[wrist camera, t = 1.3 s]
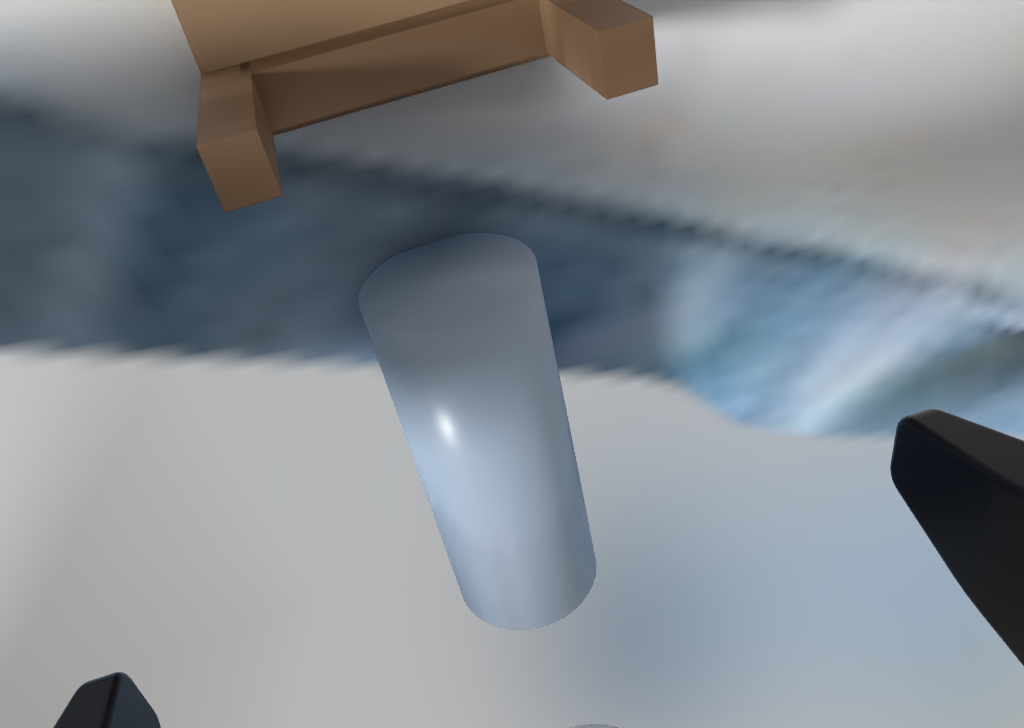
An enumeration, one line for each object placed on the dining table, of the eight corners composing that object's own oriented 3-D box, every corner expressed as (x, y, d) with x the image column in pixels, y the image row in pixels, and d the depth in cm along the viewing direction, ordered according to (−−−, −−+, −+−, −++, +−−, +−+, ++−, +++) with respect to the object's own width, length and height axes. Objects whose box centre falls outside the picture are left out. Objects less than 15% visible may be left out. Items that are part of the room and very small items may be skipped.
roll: (581, 505, 28) (610, 611, 25) (455, 534, 28) (466, 644, 25) (523, 218, 22) (551, 305, 18) (359, 256, 22) (356, 351, 18)
